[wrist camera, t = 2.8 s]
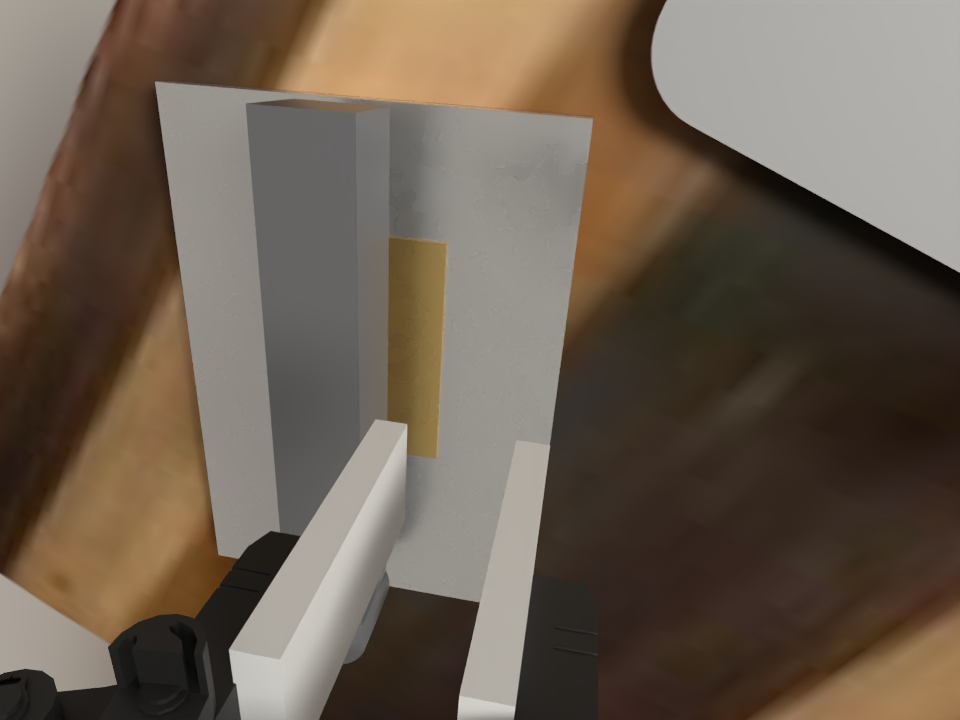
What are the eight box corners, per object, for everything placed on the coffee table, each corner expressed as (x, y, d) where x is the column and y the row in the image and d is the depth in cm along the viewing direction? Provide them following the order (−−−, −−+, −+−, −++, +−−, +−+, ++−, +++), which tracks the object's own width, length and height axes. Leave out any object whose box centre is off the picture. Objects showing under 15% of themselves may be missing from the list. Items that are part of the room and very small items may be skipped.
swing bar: (394, 107, 26) (361, 113, 22) (389, 613, 37) (366, 671, 33) (289, 98, 26) (240, 103, 22) (316, 599, 38) (286, 655, 34)
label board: (593, 116, 28) (592, 123, 25) (529, 592, 40) (523, 644, 37) (174, 81, 31) (118, 82, 27) (230, 539, 43) (196, 582, 39)
